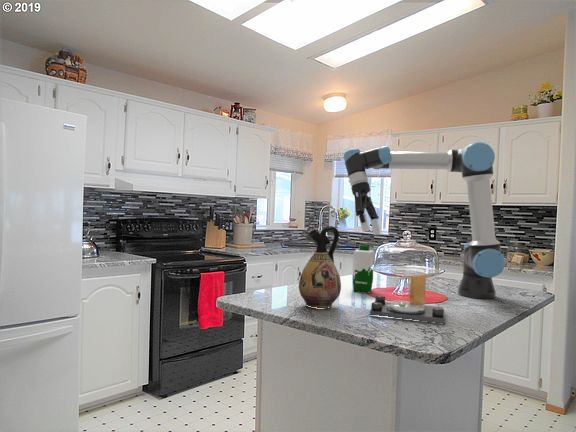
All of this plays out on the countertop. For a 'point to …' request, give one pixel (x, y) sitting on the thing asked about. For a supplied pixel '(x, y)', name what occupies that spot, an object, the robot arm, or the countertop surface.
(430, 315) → the tribrach plate
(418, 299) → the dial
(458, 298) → the countertop surface
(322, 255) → the ceramic jug
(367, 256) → the milk carton
